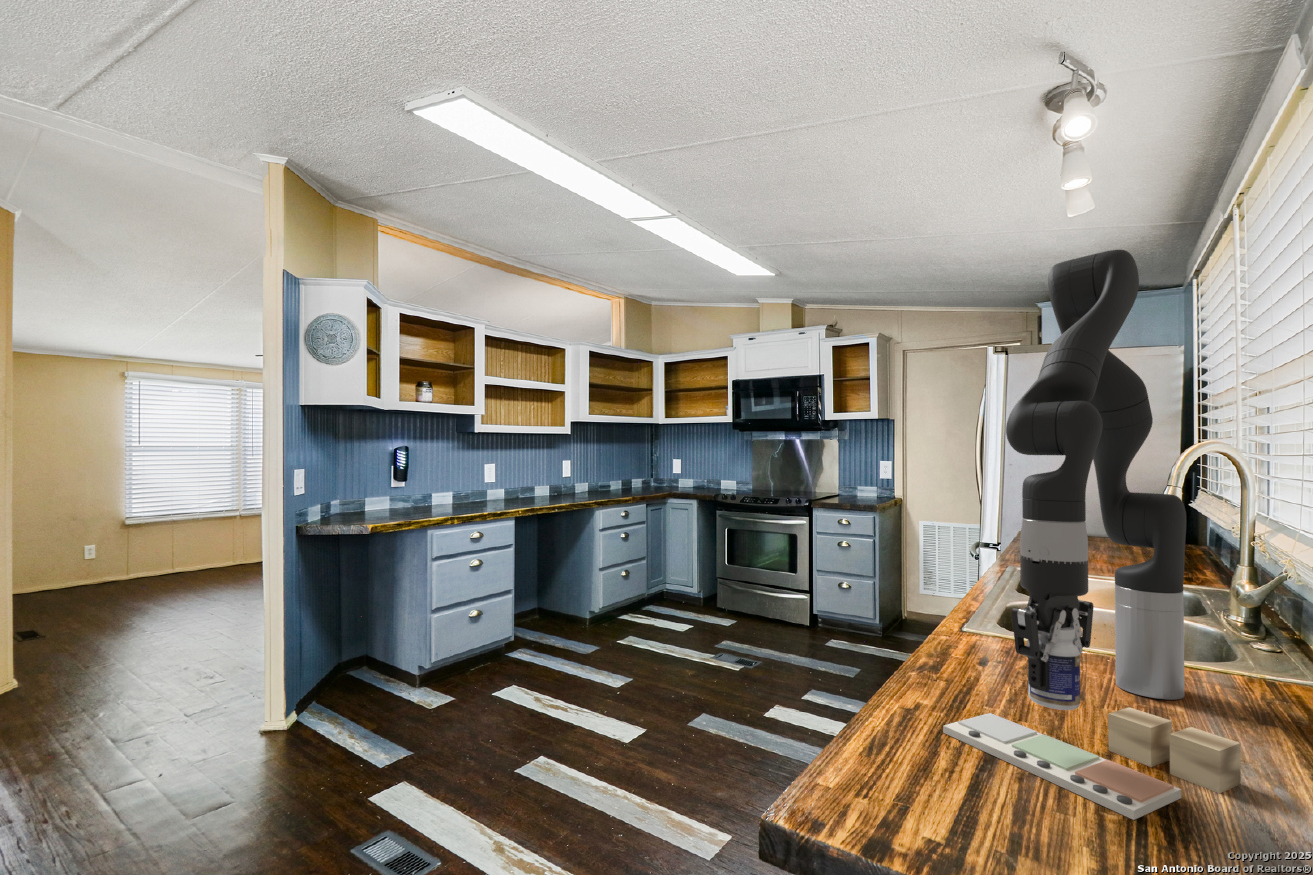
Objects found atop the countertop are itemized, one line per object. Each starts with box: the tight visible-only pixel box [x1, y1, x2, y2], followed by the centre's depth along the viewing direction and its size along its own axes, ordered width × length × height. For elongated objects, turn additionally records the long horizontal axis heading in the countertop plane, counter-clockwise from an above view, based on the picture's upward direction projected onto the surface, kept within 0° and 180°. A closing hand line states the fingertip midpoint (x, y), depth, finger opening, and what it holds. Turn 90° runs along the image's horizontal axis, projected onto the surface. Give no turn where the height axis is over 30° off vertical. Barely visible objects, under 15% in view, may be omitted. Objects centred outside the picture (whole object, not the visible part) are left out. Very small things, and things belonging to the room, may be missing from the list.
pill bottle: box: [1027, 627, 1081, 711], centre depth 83 cm, size 6×6×10 cm
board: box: [942, 712, 1182, 821], centre depth 82 cm, size 10×24×1 cm, turn 27°
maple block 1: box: [1107, 706, 1173, 768], centre depth 84 cm, size 5×5×5 cm
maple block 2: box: [1169, 726, 1242, 794], centre depth 78 cm, size 5×5×5 cm
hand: (1053, 684), depth 83 cm, fingers closed on pill bottle, 5 cm apart
